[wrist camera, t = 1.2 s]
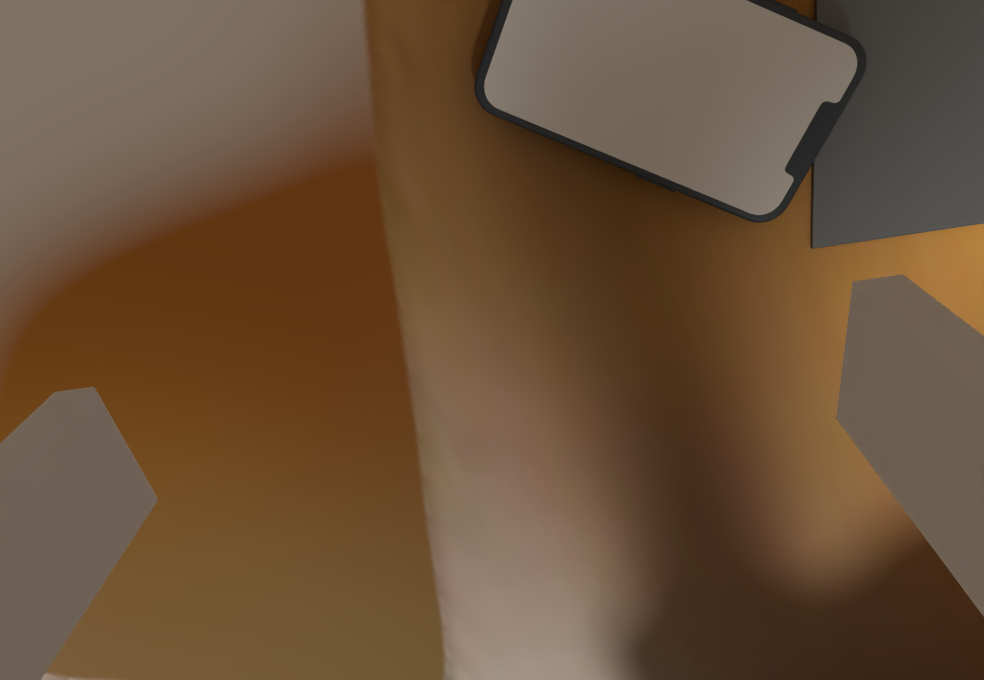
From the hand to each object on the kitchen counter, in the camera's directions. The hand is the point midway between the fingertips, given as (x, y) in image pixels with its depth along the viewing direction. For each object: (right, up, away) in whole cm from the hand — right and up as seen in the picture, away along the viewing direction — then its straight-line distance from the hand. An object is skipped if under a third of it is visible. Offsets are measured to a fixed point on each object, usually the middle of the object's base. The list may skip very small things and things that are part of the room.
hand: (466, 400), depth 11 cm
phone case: (+8, +14, +19) cm, 25 cm away
